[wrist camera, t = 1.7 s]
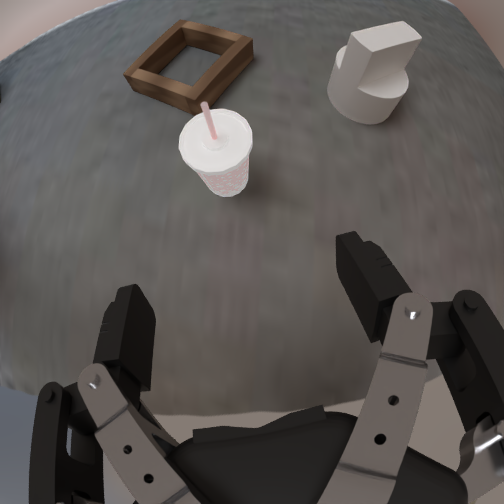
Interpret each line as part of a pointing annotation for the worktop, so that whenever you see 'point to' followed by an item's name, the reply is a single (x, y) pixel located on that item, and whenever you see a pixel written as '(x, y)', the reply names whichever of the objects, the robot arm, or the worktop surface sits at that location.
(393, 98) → the cylinder with rectangular tab
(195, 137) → the beverage cup
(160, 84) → the walnut collar
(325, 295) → the worktop surface
